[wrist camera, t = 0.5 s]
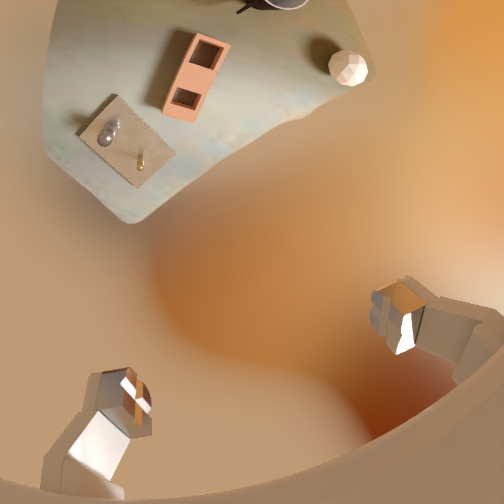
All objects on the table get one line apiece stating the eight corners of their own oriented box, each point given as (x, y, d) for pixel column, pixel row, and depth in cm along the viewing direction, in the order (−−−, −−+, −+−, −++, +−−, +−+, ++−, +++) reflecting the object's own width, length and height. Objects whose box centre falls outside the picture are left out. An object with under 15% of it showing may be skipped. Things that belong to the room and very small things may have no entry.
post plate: (80, 135, 40) (70, 148, 35) (118, 95, 38) (111, 102, 33) (138, 186, 51) (137, 205, 46) (175, 152, 49) (178, 167, 44)
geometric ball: (334, 71, 49) (352, 97, 48) (314, 58, 44) (333, 85, 42) (360, 53, 44) (380, 79, 42) (341, 36, 38) (364, 63, 37)
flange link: (194, 34, 35) (197, 33, 33) (225, 45, 38) (230, 45, 35) (161, 109, 43) (161, 114, 40) (191, 118, 46) (194, 123, 43)
